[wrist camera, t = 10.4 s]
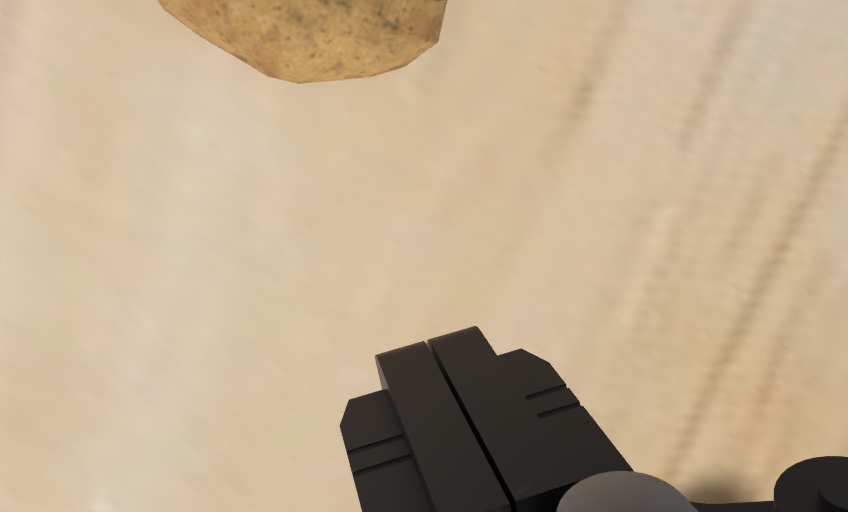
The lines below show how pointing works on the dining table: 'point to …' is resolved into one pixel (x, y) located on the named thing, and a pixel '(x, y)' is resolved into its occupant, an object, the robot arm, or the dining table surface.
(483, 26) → the dining table surface
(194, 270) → the dining table surface
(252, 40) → the potato
